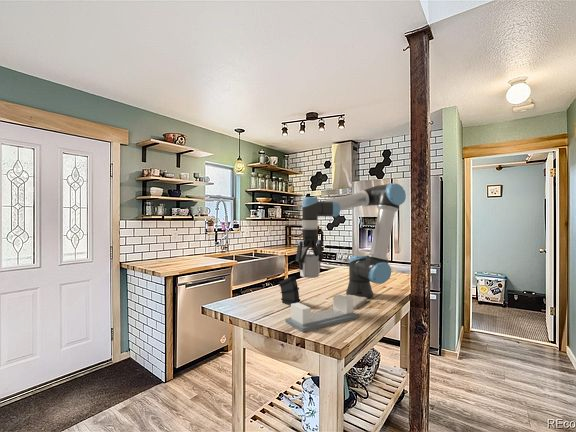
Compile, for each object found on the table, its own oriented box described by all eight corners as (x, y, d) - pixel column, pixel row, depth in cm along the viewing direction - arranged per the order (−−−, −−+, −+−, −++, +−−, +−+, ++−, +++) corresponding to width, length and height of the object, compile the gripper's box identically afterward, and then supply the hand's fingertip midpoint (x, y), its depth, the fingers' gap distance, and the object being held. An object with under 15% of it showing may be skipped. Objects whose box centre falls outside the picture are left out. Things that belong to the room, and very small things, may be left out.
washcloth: (368, 301, 162) (368, 296, 162) (356, 310, 147) (356, 304, 147) (347, 298, 169) (347, 293, 169) (334, 306, 154) (334, 300, 154)
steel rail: (339, 308, 144) (339, 307, 144) (353, 313, 137) (353, 312, 137) (290, 319, 130) (290, 317, 130) (302, 326, 122) (302, 324, 122)
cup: (321, 275, 147) (321, 255, 146) (312, 278, 140) (312, 257, 140) (308, 273, 152) (308, 253, 152) (297, 276, 146) (297, 255, 146)
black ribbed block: (298, 305, 148) (290, 276, 153) (283, 311, 157) (276, 283, 162) (304, 304, 151) (295, 275, 156) (289, 309, 160) (281, 282, 165)
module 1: (298, 316, 132) (298, 302, 132) (310, 322, 124) (310, 307, 124) (290, 317, 130) (290, 303, 130) (302, 324, 122) (302, 309, 122)
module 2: (339, 307, 144) (339, 294, 144) (353, 312, 137) (353, 299, 137) (333, 308, 142) (333, 295, 142) (346, 313, 135) (346, 300, 135)
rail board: (339, 310, 147) (339, 307, 147) (358, 317, 136) (358, 314, 136) (285, 322, 131) (285, 318, 130) (302, 332, 119) (302, 328, 119)
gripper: (321, 227, 155) (321, 271, 155) (287, 229, 143) (287, 276, 143) (331, 228, 149) (331, 273, 149) (296, 229, 137) (296, 279, 137)
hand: (309, 275), depth 146 cm, fingers closed on cup, 8 cm apart
